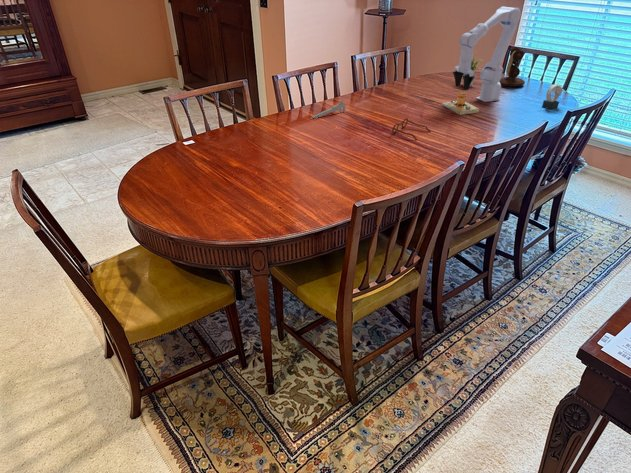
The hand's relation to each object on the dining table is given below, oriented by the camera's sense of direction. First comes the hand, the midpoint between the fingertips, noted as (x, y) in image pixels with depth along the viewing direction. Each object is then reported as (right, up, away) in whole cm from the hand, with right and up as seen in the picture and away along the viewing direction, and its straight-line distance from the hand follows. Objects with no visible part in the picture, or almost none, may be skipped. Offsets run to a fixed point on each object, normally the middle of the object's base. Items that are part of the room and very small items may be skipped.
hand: (461, 87), depth 221 cm
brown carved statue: (+39, +13, +33) cm, 53 cm away
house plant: (+16, +13, +35) cm, 41 cm away
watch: (+44, -11, -3) cm, 45 cm away
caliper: (-68, -15, 0) cm, 70 cm away
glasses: (-31, -30, -25) cm, 50 cm away
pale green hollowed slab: (-1, -10, +1) cm, 10 cm away
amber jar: (-1, -10, +1) cm, 10 cm away
